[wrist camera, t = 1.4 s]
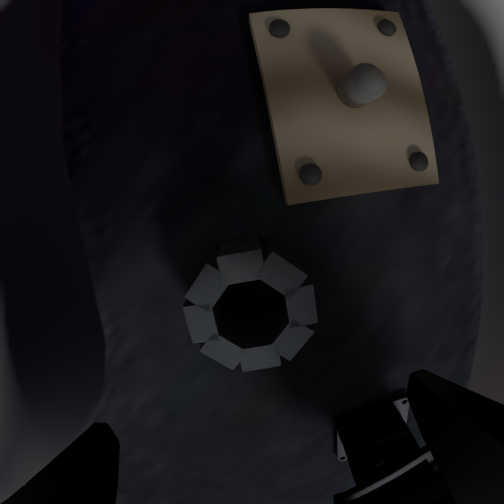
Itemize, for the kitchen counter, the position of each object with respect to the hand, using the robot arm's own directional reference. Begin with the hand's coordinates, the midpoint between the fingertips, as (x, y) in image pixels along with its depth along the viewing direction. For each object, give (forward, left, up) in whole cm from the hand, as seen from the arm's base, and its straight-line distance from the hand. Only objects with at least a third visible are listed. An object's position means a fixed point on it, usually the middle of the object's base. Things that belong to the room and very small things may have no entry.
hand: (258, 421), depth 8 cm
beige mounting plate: (+10, -8, -12) cm, 18 cm away
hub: (-1, 0, -12) cm, 12 cm away
